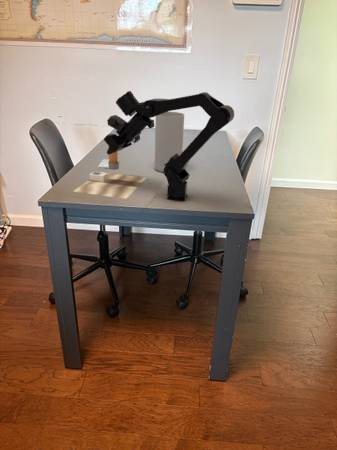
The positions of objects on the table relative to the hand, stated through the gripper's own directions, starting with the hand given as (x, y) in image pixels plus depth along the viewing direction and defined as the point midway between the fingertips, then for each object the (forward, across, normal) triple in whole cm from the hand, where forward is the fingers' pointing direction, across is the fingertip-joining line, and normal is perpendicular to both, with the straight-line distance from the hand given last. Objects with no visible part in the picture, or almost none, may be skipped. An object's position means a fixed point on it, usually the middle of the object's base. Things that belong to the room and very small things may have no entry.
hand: (110, 152), depth 130 cm
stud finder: (+12, 0, +4) cm, 13 cm away
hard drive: (+20, -23, 0) cm, 31 cm away
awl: (+3, 0, +5) cm, 6 cm away
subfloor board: (+8, +2, +11) cm, 14 cm away
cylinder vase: (+1, -30, +19) cm, 35 cm away
